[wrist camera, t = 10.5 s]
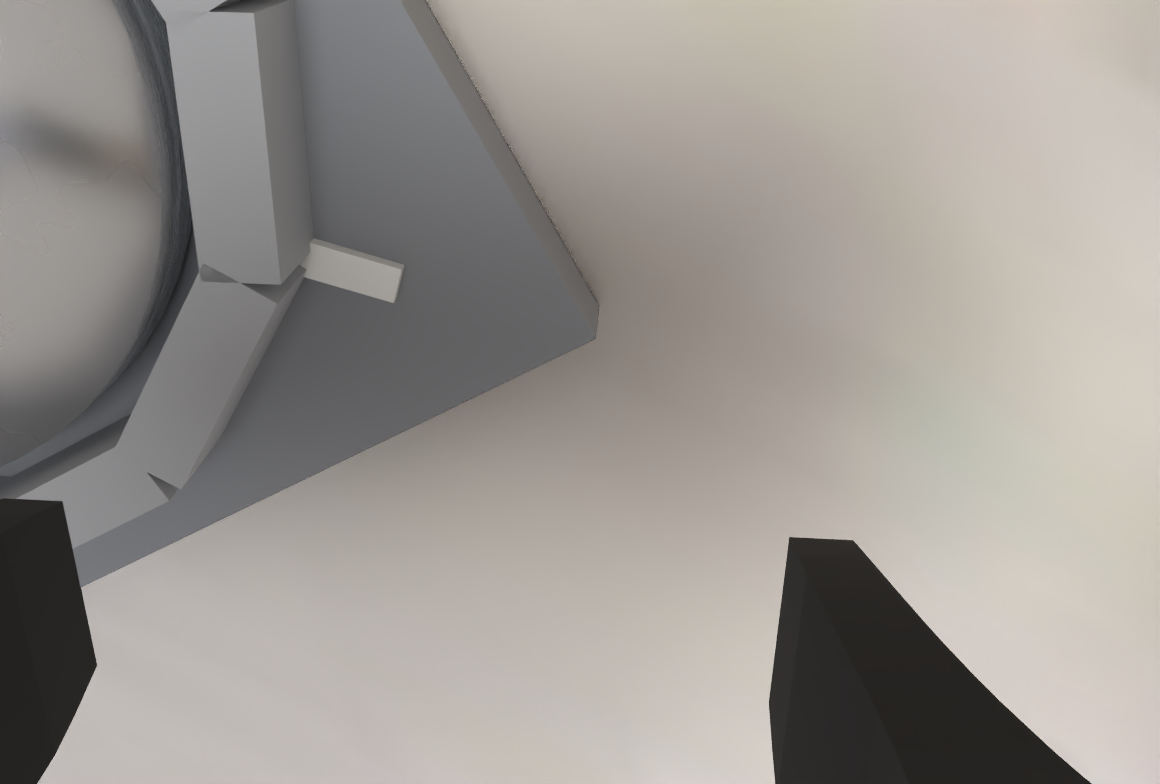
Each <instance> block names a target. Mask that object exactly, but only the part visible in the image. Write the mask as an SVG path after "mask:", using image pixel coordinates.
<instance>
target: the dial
mask: <svg viewBox="0 0 1160 784" xmlns="http://www.w3.org/2000/svg"><path fill="white" fill-rule="evenodd" d="M191 219H192V213H191V206H190V198H189V191H188V183H187V176H186V168H185V161H184V153H183V146H182V138H181V131H180V123H179V116H178V108H177V101H176V93H175V86H174V78H173V71H172V63H171V56H170V48H169V41H168V33H167V28H166V26H165V23H164V21H163V19H162V16H161V14H160V13H159V11H158V10H157V8H156V7H155V5H154V4H153V2H152V1H151V0H0V466H3V465H5V464H7V463H10V462H12V461H15V460H17V459H19V458H21V457H22V456H24V455H26V454H27V453H29V452H31V451H32V450H34V449H36V448H37V447H39V446H40V445H42V444H44V443H45V442H47V441H49V440H50V439H52V438H53V437H55V436H56V435H57V434H58V433H59V432H60V431H62V430H63V429H64V428H65V427H66V426H67V425H69V424H70V423H71V422H72V421H73V420H74V419H76V418H77V417H78V416H79V415H80V414H81V413H82V412H84V411H85V410H86V409H87V408H88V407H89V406H90V405H91V404H92V403H93V402H94V401H95V400H96V399H97V398H98V397H99V396H100V395H101V394H102V393H104V392H105V391H106V390H107V389H108V388H109V387H110V386H111V385H112V384H113V383H114V382H115V381H116V380H117V379H118V378H119V377H120V376H121V375H122V374H123V372H124V371H125V370H126V369H127V368H128V366H129V365H130V364H131V363H132V362H133V360H134V359H135V358H136V357H137V356H138V354H139V353H140V352H141V351H142V350H143V348H144V347H145V346H146V344H147V342H148V341H149V339H150V337H151V335H152V334H153V332H154V330H155V329H156V327H157V325H158V324H159V322H160V320H161V319H162V317H163V315H164V314H165V311H166V309H167V306H168V304H169V301H170V299H171V296H172V294H173V291H174V289H175V286H176V284H177V281H178V279H179V276H180V274H181V270H182V265H183V261H184V257H185V252H186V248H187V244H188V239H189V235H190V231H191Z"/></svg>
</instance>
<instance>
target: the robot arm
mask: <svg viewBox="0 0 1160 784" xmlns="http://www.w3.org/2000/svg"><path fill="white" fill-rule="evenodd" d="M96 666H97V663H96V658H95V654H94V649H93V644H92V639H91V634H90V630H89V625H88V620H87V615H86V611H85V606H84V601H83V596H82V592H81V587H80V582H79V577H78V572H77V568H76V563H75V558H74V553H73V549H72V544H71V539H70V534H69V530H68V525H67V520H66V515H65V510H64V506H63V501H48V500H28V499H8V498H3V499H0V784H37V783H38V781H39V780H40V778H41V776H42V775H43V773H44V772H45V770H46V768H47V767H48V765H49V764H50V762H51V760H52V759H53V757H54V756H55V754H56V752H57V750H58V748H59V746H60V744H61V742H62V740H63V738H64V736H65V734H66V732H67V730H68V728H69V726H70V724H71V721H72V719H73V717H74V715H75V713H76V711H77V709H78V707H79V704H80V702H81V700H82V698H83V695H84V693H85V691H86V689H87V687H88V684H89V682H90V680H91V678H92V675H93V673H94V671H95V669H96ZM769 710H770V724H771V737H772V750H773V762H774V773H775V784H1091V783H1090V782H1089V781H1088V780H1086V779H1085V778H1084V777H1083V776H1082V775H1080V774H1079V773H1078V772H1077V771H1076V770H1075V769H1073V768H1072V767H1071V766H1070V765H1069V764H1068V763H1066V762H1065V761H1064V760H1063V759H1062V758H1061V757H1060V756H1058V755H1057V754H1056V753H1055V752H1054V751H1053V750H1052V749H1050V748H1049V747H1048V746H1047V745H1046V744H1045V743H1044V742H1043V741H1042V740H1041V739H1040V738H1039V737H1038V736H1036V735H1035V734H1034V733H1033V732H1032V731H1031V730H1030V729H1029V728H1028V727H1027V726H1026V725H1025V724H1024V723H1023V722H1021V721H1020V720H1019V719H1018V718H1017V717H1016V716H1015V715H1014V714H1013V713H1012V712H1011V711H1010V710H1009V709H1008V708H1006V707H1005V706H1004V705H1003V704H1002V703H1001V702H1000V701H999V700H998V699H997V698H996V697H995V696H994V695H993V694H992V693H991V692H990V691H989V690H988V689H987V688H986V687H985V686H984V685H983V684H982V683H981V682H980V681H979V680H978V679H977V678H976V677H975V676H974V675H973V674H972V673H971V672H970V671H969V670H968V669H967V668H966V667H965V665H964V664H963V663H962V662H961V661H960V660H959V659H958V658H957V657H956V656H955V655H954V654H953V653H952V652H951V651H950V650H949V649H948V648H947V646H946V645H945V644H944V643H943V642H942V641H941V640H940V639H939V638H938V637H937V636H936V634H935V633H934V632H933V631H932V630H931V629H930V628H929V627H928V626H927V625H926V623H925V622H924V621H923V620H922V619H921V618H920V617H919V615H918V614H917V613H916V612H915V611H914V610H913V609H912V608H911V606H910V605H909V604H908V603H907V602H906V601H905V600H904V598H903V597H902V596H901V595H900V594H899V593H898V591H897V590H896V589H895V588H894V587H893V586H892V585H891V583H890V582H889V581H888V580H887V579H886V578H885V576H884V575H883V574H882V573H881V572H880V571H879V569H878V568H877V567H876V566H875V565H874V564H873V563H872V561H871V560H870V559H869V558H868V557H867V556H866V555H865V553H864V552H863V551H862V550H861V549H860V548H859V547H858V545H857V544H856V543H855V542H854V541H853V540H834V539H814V538H794V537H789V545H788V553H787V561H786V569H785V577H784V586H783V594H782V602H781V610H780V618H779V626H778V634H777V642H776V650H775V658H774V666H773V674H772V682H771V690H770V698H769Z"/></svg>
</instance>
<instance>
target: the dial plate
mask: <svg viewBox="0 0 1160 784" xmlns="http://www.w3.org/2000/svg"><path fill="white" fill-rule="evenodd" d="M151 1H152V2H153V4H154V5H155V7H156V8H157V10H158V11H159V13H160V14H161V16H162V19H163V21H164V23H165V26H166V28H167V33H168V41H169V48H170V56H171V63H172V71H173V78H174V86H175V93H176V101H177V108H178V116H179V123H180V131H181V138H182V146H183V153H184V161H185V168H186V176H187V183H188V191H189V198H190V206H191V213H192V219H191V231H190V235H189V239H188V244H187V248H186V252H185V257H184V261H183V265H182V270H181V274H180V276H179V279H178V281H177V284H176V286H175V289H174V291H173V294H172V296H171V299H170V301H169V304H168V306H167V309H166V311H165V314H164V315H163V317H162V319H161V320H160V322H159V324H158V325H157V327H156V329H155V330H154V332H153V334H152V335H151V337H150V339H149V341H148V342H147V344H146V346H145V347H144V348H143V350H142V351H141V352H140V353H139V354H138V356H137V357H136V358H135V359H134V360H133V362H132V363H131V364H130V365H129V366H128V368H127V369H126V370H125V371H124V372H123V374H122V375H121V376H120V377H119V378H118V379H117V380H116V381H115V382H114V383H113V384H112V385H111V386H110V387H109V388H108V389H107V390H106V391H105V392H104V393H102V394H101V395H100V396H99V397H98V398H97V399H96V400H95V401H94V402H93V403H92V404H91V405H90V406H89V407H88V408H87V409H86V410H85V411H84V412H82V413H81V414H80V415H79V416H78V417H77V418H76V419H74V420H73V421H72V422H71V423H70V424H69V425H67V426H66V427H65V428H64V429H63V430H62V431H60V432H59V433H58V434H57V435H56V436H55V437H53V438H52V439H50V440H49V441H47V442H45V443H44V444H42V445H40V446H39V447H37V448H36V449H34V450H32V451H31V452H29V453H27V454H26V455H24V456H22V457H21V458H19V459H17V460H15V461H12V462H10V463H7V464H5V465H3V466H0V499H3V498H8V499H28V500H48V501H63V506H64V510H65V515H66V520H67V525H68V530H69V534H70V539H71V544H72V549H73V553H74V558H75V563H76V568H77V572H78V577H79V582H80V587H83V586H85V585H87V584H89V583H91V582H93V581H95V580H97V579H99V578H101V577H103V576H105V575H107V574H109V573H112V572H114V571H116V570H118V569H120V568H122V567H124V566H126V565H128V564H130V563H132V562H134V561H136V560H138V559H141V558H143V557H145V556H147V555H149V554H151V553H153V552H155V551H157V550H159V549H161V548H163V547H165V546H167V545H170V544H172V543H174V542H176V541H178V540H180V539H182V538H184V537H186V536H188V535H190V534H192V533H194V532H196V531H198V530H201V529H203V528H205V527H207V526H209V525H211V524H213V523H215V522H217V521H219V520H221V519H223V518H225V517H227V516H230V515H232V514H234V513H236V512H238V511H240V510H242V509H244V508H246V507H248V506H250V505H252V504H254V503H256V502H259V501H261V500H263V499H265V498H267V497H269V496H271V495H273V494H275V493H277V492H279V491H281V490H283V489H285V488H287V487H290V486H292V485H294V484H296V483H298V482H300V481H302V480H304V479H306V478H308V477H310V476H312V475H314V474H316V473H319V472H321V471H323V470H325V469H327V468H329V467H331V466H333V465H335V464H337V463H339V462H341V461H343V460H345V459H348V458H350V457H352V456H354V455H356V454H358V453H360V452H362V451H364V450H366V449H368V448H370V447H372V446H374V445H376V444H379V443H381V442H383V441H385V440H387V439H389V438H391V437H393V436H395V435H397V434H399V433H401V432H403V431H405V430H408V429H410V428H412V427H414V426H416V425H418V424H420V423H422V422H424V421H426V420H428V419H430V418H432V417H434V416H437V415H439V414H441V413H443V412H445V411H447V410H449V409H451V408H453V407H455V406H457V405H459V404H461V403H463V402H465V401H468V400H470V399H472V398H474V397H476V396H478V395H480V394H482V393H484V392H486V391H488V390H490V389H492V388H494V387H497V386H499V385H501V384H503V383H505V382H507V381H509V380H511V379H513V378H515V377H517V376H519V375H521V374H523V373H526V372H528V371H530V370H532V369H534V368H536V367H538V366H540V365H542V364H544V363H546V362H548V361H550V360H552V359H554V358H557V357H559V356H561V355H563V354H565V353H567V352H569V351H571V350H573V349H575V348H577V347H579V346H581V345H583V344H586V343H588V342H590V341H592V340H594V339H596V331H597V323H598V314H599V305H598V303H597V301H596V299H595V298H594V296H593V294H592V292H591V291H590V289H589V287H588V285H587V284H586V282H585V280H584V278H583V277H582V275H581V273H580V271H579V270H578V268H577V266H576V264H575V263H574V261H573V259H572V257H571V256H570V254H569V252H568V250H567V248H566V247H565V245H564V243H563V241H562V240H561V238H560V236H559V234H558V233H557V231H556V229H555V227H554V226H553V224H552V222H551V220H550V219H549V217H548V215H547V213H546V212H545V210H544V208H543V206H542V205H541V203H540V201H539V199H538V198H537V196H536V194H535V192H534V191H533V189H532V187H531V185H530V183H529V182H528V180H527V178H526V176H525V175H524V173H523V171H522V169H521V168H520V166H519V164H518V162H517V161H516V159H515V157H514V155H513V154H512V152H511V150H510V148H509V147H508V145H507V143H506V141H505V140H504V138H503V136H502V134H501V133H500V131H499V129H498V127H497V126H496V124H495V122H494V120H493V118H492V117H491V115H490V113H489V111H488V110H487V108H486V106H485V104H484V103H483V101H482V99H481V97H480V96H479V94H478V92H477V90H476V89H475V87H474V85H473V83H472V82H471V80H470V78H469V76H468V75H467V73H466V71H465V69H464V68H463V66H462V64H461V62H460V61H459V59H458V57H457V55H456V53H455V52H454V50H453V48H452V46H451V45H450V43H449V41H448V39H447V38H446V36H445V34H444V32H443V31H442V29H441V27H440V25H439V24H438V22H437V20H436V18H435V17H434V15H433V13H432V11H431V10H430V8H429V6H428V4H427V3H426V1H425V0H151Z"/></svg>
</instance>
